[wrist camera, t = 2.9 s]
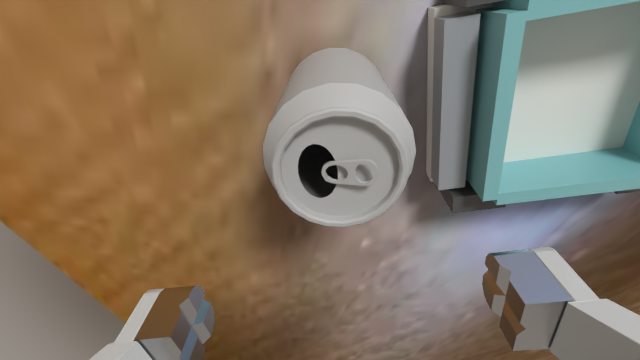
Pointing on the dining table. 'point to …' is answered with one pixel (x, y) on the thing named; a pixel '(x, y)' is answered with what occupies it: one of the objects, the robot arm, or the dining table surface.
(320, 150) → the can
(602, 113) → the teal and grey tray
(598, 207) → the dining table surface
